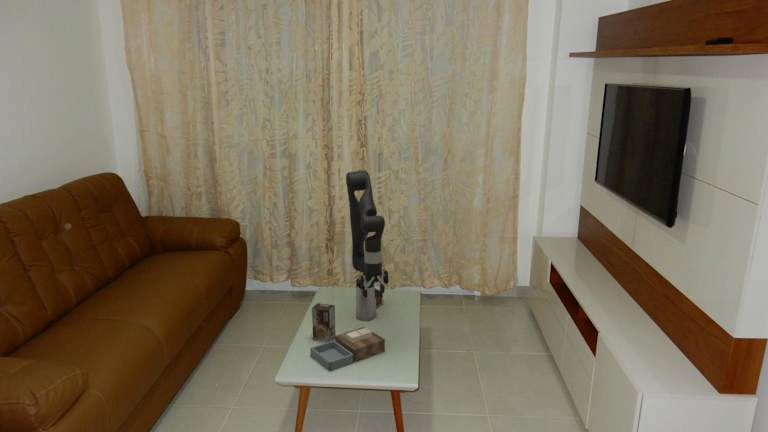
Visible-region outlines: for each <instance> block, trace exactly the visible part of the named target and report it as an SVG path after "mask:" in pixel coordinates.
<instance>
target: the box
mask: <svg viewBox="0 0 768 432" xmlns="http://www.w3.org/2000/svg"><path fill="white" fill-rule="evenodd" d="M309 350H310V357H311V358H312V359H314V360H315V361H316V362H317V363H319V364H320V365H321V366H323V367H324V368H325V369H326V370H328V371H329V372H332V371H334V370H338V369H340V368H343V367H346V366H349V365H351V364H354V363H355V362H354V354H353V353H351V352H350V351H348V350H347V349H345V348H344V347H343V346H341V345H340V344H338V343H337V342H335V339H333V341H330V342H323V343H321V344H318V345H315V346H312V347H310V348H309Z"/></svg>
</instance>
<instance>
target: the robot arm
mask: <svg viewBox="0 0 768 432" xmlns="http://www.w3.org/2000/svg"><path fill="white" fill-rule="evenodd" d="M345 183H346V189H347V196H348V197H347V198H348V204H349V205H348V206H349V218H350V219H349V220H350V222H349V223H350V230H351V245H352V246H351V247H352V248H351V249H352V252H351V253H352V254H351V255H352V256H351V261H352V262H351V264H352V267H353V269H354V270H355V271H356V272H360V273H362V274H359V275H358V278H356V280H355V294H356V295H355V301H356V303H355V306H356V308H355V310H356V311H355V312H356V319H357V320H359V321H363V322H367V321H372V320H374V319H375V318H377V305H376V299H375V291H374V287H375V286H376V285H375V283H379V291H380V293H382V294H384V293H385V287H386V284H389V283H390V282H389V281H390V280H389V272H388V271H389V270H386V269H383V265H382V264H383V260H382V259H383V256H382V238H383V233H384V231H385V226H386V219H385V218H384V217H383V216H382V215H377V214H378V210H377V206H376V204H375V201H374V195H373V188H372V181H371V177H370V174H369V172H368V171H367V170H358V171H357V170H356V171H349V172H346V175H345ZM360 191H364V192H363V193H362V195H361V197H360V198H359V200H358V198H357V196H356V193H355V192H360ZM369 233H374V234H373V235H371V236H369Z"/></svg>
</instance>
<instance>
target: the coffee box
mask: <svg viewBox="0 0 768 432" xmlns="http://www.w3.org/2000/svg"><path fill="white" fill-rule="evenodd" d="M335 307H336V305H333V304H327V303H318V302H317V303H316V304H315V305H314V306H313V307H311V323H312V340H313V341H318V342H323V343H327V342H330V341H333V340H335V336H336V312H335V309H336V308H335Z"/></svg>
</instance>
